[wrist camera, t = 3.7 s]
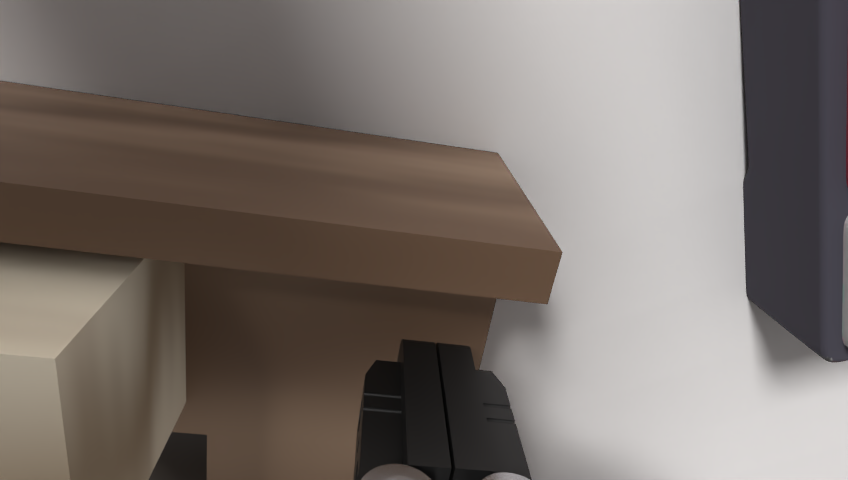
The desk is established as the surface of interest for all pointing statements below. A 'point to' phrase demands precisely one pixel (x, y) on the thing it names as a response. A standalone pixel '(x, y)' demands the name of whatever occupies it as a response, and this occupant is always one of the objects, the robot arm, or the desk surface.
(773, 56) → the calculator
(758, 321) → the desk surface
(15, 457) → the birch block
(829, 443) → the desk surface
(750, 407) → the desk surface
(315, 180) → the trap track
